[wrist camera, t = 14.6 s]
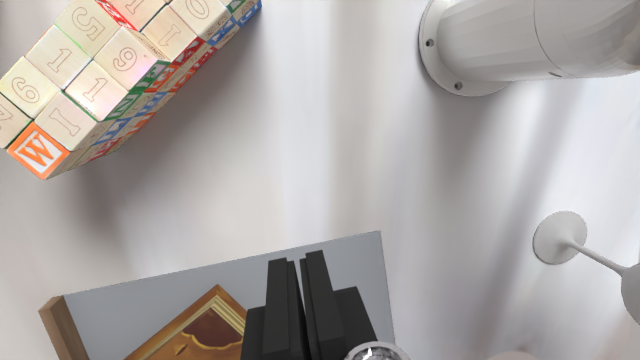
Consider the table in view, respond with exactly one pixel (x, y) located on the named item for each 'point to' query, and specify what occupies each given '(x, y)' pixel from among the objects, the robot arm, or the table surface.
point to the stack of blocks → (106, 75)
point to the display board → (189, 285)
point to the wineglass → (568, 239)
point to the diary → (199, 332)
